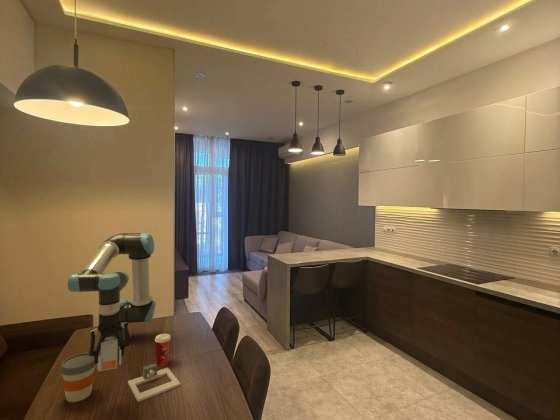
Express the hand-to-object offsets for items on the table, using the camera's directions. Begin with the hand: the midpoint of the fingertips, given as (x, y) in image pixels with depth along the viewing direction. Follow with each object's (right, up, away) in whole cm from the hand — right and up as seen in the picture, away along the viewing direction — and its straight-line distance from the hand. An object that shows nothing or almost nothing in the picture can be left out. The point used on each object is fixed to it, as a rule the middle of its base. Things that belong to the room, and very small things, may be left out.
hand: (109, 366), depth 123 cm
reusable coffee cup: (-15, -14, +4) cm, 21 cm away
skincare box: (0, -1, 0) cm, 1 cm away
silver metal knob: (+10, -12, +15) cm, 22 cm away
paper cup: (+11, -14, +29) cm, 34 cm away
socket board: (+13, -14, +12) cm, 23 cm away
